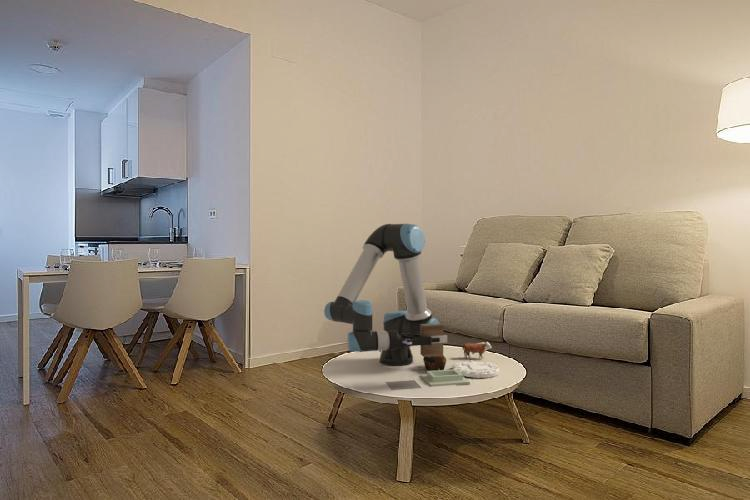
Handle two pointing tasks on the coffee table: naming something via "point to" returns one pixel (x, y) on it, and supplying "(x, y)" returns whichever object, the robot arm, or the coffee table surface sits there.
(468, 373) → the white textured flat disc
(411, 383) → the mat
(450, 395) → the coffee table surface
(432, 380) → the tray
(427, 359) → the decorative turtle
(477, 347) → the bull figurine
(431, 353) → the brown wooden block
